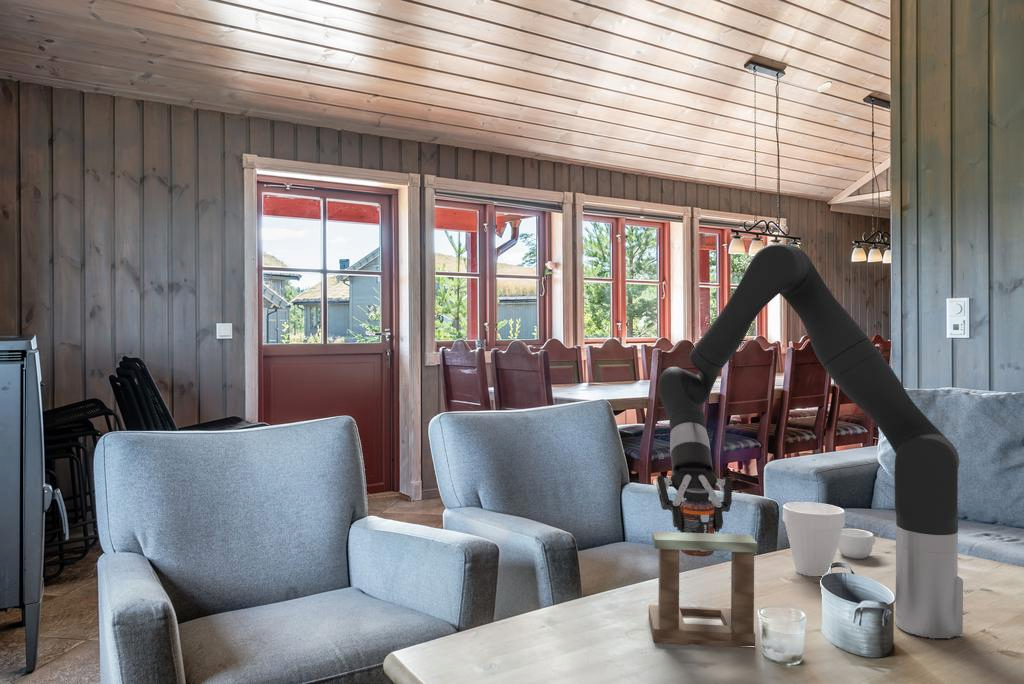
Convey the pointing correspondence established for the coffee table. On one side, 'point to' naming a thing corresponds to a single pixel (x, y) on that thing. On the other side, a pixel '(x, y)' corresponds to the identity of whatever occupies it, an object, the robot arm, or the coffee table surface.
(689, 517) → the supplement bottle
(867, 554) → the teacup
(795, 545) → the white flower pot
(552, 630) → the coffee table surface
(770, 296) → the robot arm
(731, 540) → the socket stand
